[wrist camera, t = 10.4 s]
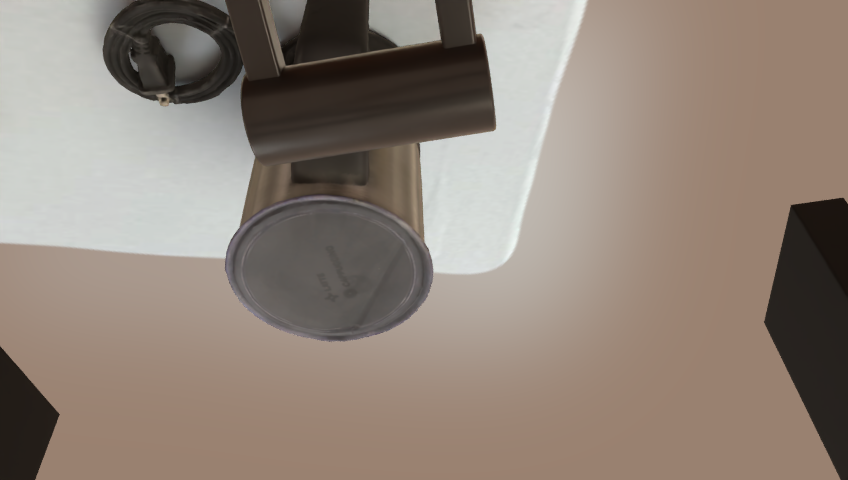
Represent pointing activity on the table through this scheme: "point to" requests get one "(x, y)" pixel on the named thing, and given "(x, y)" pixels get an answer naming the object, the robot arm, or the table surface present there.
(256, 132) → the lid
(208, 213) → the table surface
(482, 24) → the table surface
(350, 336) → the milk frother
